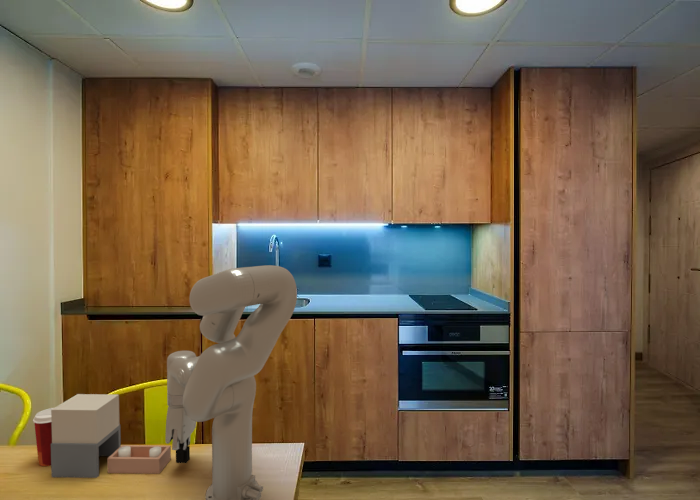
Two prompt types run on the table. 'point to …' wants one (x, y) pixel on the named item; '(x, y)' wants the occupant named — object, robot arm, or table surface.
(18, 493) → the table surface
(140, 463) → the tray
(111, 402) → the counter unit
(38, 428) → the paper cup
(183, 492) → the table surface
